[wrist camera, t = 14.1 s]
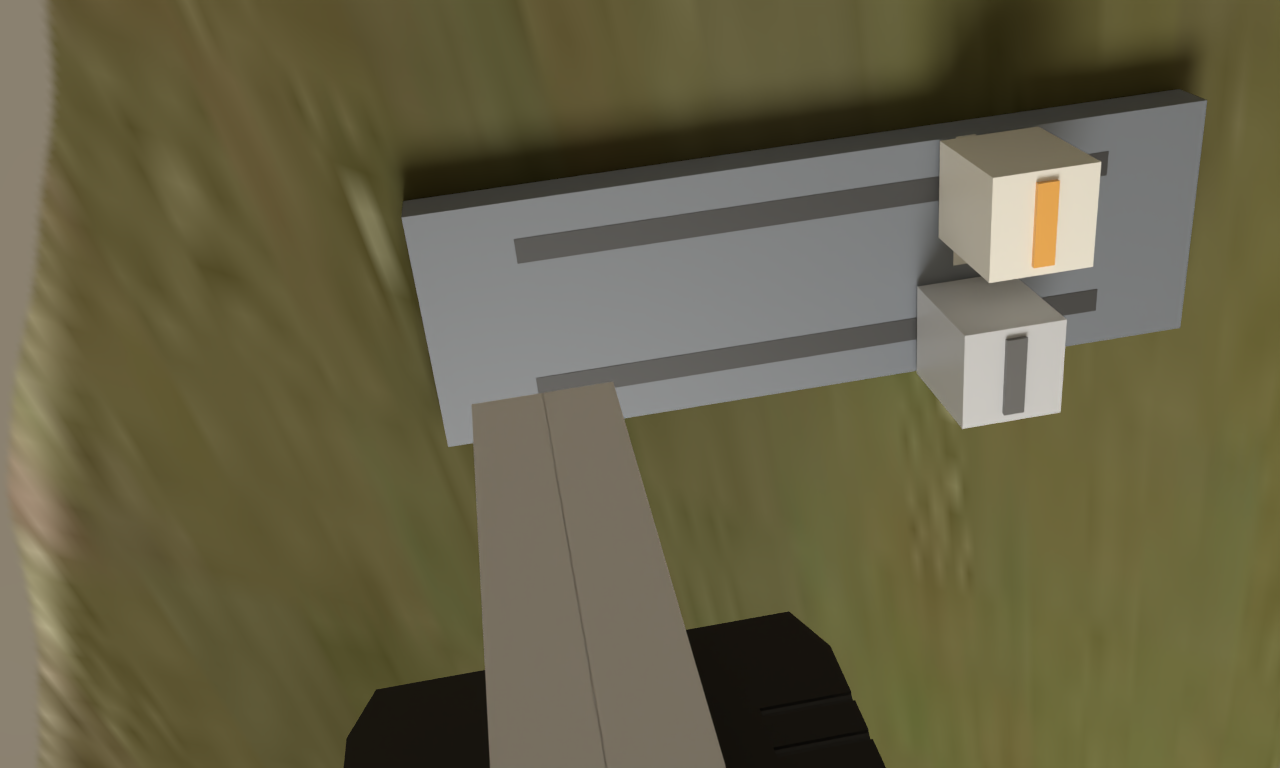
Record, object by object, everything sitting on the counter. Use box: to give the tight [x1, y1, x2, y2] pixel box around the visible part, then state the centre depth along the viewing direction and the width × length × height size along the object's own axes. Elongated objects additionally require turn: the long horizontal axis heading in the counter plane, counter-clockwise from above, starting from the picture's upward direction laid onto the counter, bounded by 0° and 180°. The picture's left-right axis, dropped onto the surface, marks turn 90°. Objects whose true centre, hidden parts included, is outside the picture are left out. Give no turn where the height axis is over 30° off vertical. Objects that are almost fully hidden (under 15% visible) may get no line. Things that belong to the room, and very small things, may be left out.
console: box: [402, 89, 1207, 447], centre depth 49 cm, size 10×32×2 cm, turn 96°
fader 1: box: [939, 127, 1101, 283], centre depth 45 cm, size 4×4×5 cm
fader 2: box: [917, 276, 1067, 429], centre depth 48 cm, size 4×4×5 cm
